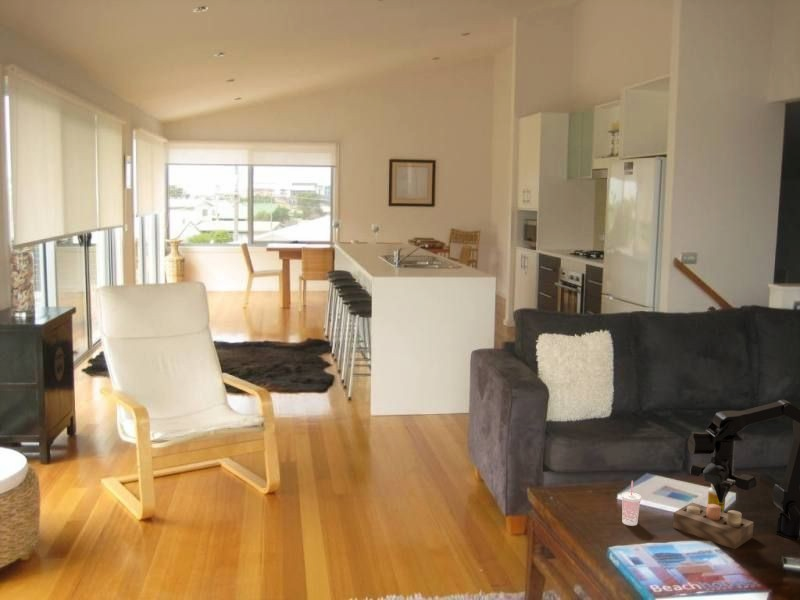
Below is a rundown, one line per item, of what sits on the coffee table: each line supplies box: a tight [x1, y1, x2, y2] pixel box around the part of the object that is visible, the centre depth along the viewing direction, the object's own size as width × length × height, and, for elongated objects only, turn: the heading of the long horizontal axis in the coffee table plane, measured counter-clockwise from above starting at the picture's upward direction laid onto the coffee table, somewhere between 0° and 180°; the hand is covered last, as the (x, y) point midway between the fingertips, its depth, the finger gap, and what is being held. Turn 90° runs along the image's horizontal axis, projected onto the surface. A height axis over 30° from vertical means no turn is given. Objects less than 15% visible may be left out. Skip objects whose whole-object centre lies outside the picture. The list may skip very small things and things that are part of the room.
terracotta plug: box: [706, 503, 721, 522], centre depth 250 cm, size 4×4×5 cm
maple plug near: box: [726, 509, 742, 529], centre depth 245 cm, size 4×4×5 cm
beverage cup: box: [621, 480, 642, 527], centre depth 256 cm, size 6×6×14 cm
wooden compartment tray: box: [672, 502, 754, 550], centre depth 250 cm, size 20×12×5 cm, turn 43°
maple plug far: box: [687, 506, 700, 515], centre depth 255 cm, size 4×4×5 cm
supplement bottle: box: [707, 483, 726, 513], centre depth 267 cm, size 5×5×10 cm
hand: (721, 502), depth 248 cm, fingers closed
